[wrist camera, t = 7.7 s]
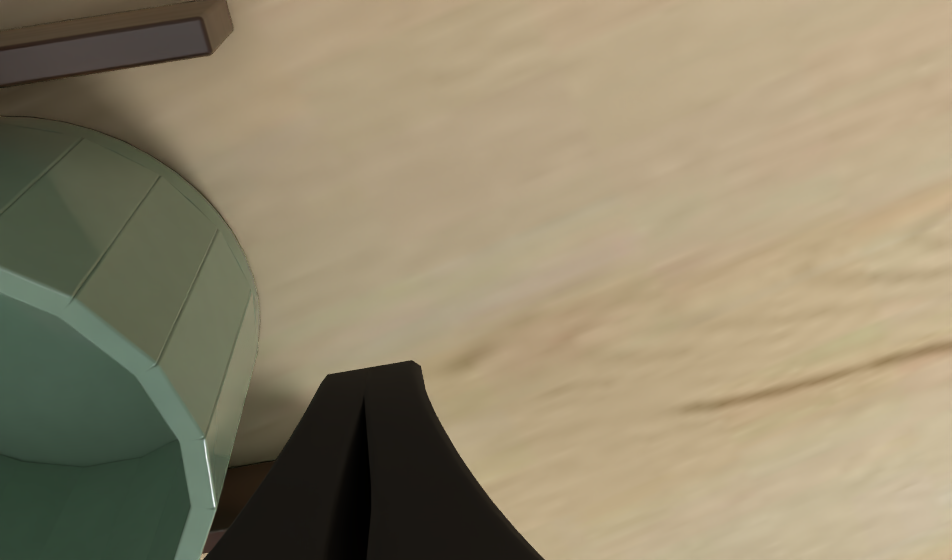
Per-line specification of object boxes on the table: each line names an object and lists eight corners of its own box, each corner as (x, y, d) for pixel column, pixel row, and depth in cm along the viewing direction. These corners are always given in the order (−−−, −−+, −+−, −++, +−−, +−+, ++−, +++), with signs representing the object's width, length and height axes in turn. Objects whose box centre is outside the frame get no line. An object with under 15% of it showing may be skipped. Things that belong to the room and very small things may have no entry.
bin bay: (353, 466, 19) (350, 529, 17) (-72, 539, 18) (-120, 610, 17) (225, -5, 14) (201, 15, 12) (-368, 86, 13) (-483, 120, 12)
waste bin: (303, 425, 18) (275, 617, 13) (-50, 487, 18) (-200, 703, 13) (196, 82, 14) (106, 187, 10) (-255, 155, 14) (-567, 298, 9)
